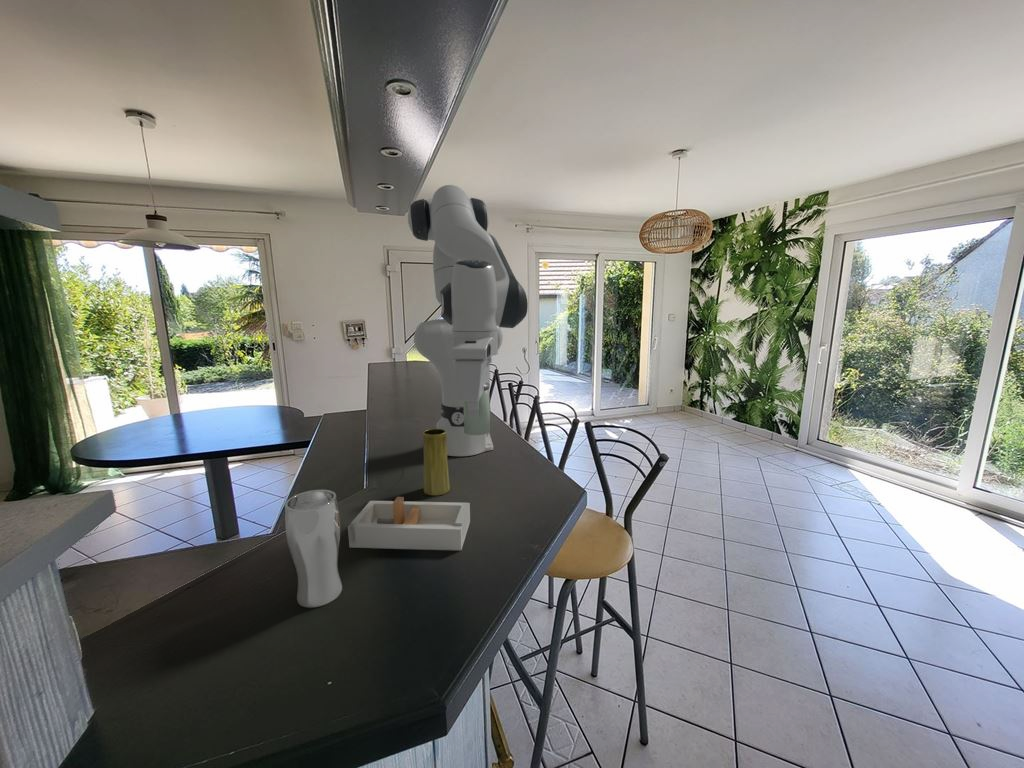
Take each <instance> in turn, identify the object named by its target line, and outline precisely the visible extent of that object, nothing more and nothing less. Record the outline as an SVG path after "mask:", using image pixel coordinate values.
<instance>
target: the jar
mask: <svg viewBox="0 0 1024 768" xmlns="http://www.w3.org/2000/svg"><path fill="white" fill-rule="evenodd" d="M490 387H491V384H490V382H489V383H487V382H486V383H485V385H484V392H483V394H482V396H481V397H480V399H479V417H478V419H470V418H469V409H468V405H467V402H463V404H464V433H466V434H468V435H484V434H487V433H489V434H490V430H491V425H490V424H491V423H490V422H491V420H490V415H491V414H490V413H491V412H490Z"/></svg>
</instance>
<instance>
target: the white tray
mask: <svg viewBox="0 0 1024 768" xmlns="http://www.w3.org/2000/svg"><path fill="white" fill-rule="evenodd" d="M393 502H394V500H393V501H392V500H369V502H367V504H366V505H365V506H364V508H363V509H362V510H361V511H360V512H359V513H358V514H357V516H356V517H355V518H354V519H353V520H352V521H351V522H350V523H349V524H348V525H347V531H348V532H347V534H348V544H349V545H348V546H349V547H348V548H349V549H350V548H356V549H357V548H360V549H389V550H390V549H391V550H392V549H393V550H423V551H424V550H426V551H430V550H431V551H432V550H433V551H434V550H435V551H462V550H463V545H464V543H465V539H466V536H467V534H468V533H467V532H468V530H469V526H470V523H471V508H470V506H471V505H470V504H471V503H470V502H452V501H451V502H450V501H448V502H447V501H446V502H445V501H404V516H405V520H406V518H407V517H408V515H409V513H410V512H411V510H412V508H419V515H420V518H419V520H418V522H417V524H416V525H405V524H377V519H378V518H384V519H394V513H393Z"/></svg>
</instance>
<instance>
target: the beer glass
mask: <svg viewBox="0 0 1024 768" xmlns="http://www.w3.org/2000/svg"><path fill="white" fill-rule="evenodd" d="M284 508H285V509H284V510H285V511H284V512H285V534H286V540H287V541H286V542H287V545H288V548H289V549H288V550H289V551H290V555H291V559H292V561H293V562H292V563H293V564H294V567H295V570H296V574H297V592H296V593H297V594H296V600H297V601H296V602H297V604H299V606H301V607H303V608H307V609H312V608H313V609H314V608H315V609H316V608H318V607H319V608H320V607H322V606H326V605H328V604H330V603H331V602H333V601H334V600H336V599H337V598H338V597H339V596H340V595H341V593H342V591H343V584H342V580H341V577H340V573H339V568H338V561H339V559H338V558H339V549H340V541H341V520H340V518H341V517H340V512H339V505H338V500H337V494H336V492H334V491H332V490H329V489H314V490H307V491H304V492H301V493H297V494H295V495H293V496H291V497H289V499H288V500H286V502H284Z"/></svg>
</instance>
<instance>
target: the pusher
mask: <svg viewBox="0 0 1024 768" xmlns="http://www.w3.org/2000/svg"><path fill="white" fill-rule="evenodd" d="M404 500H405V499H404V496H396V498H395V499H394V500H393V501H394V502H393V513H394V519H384V518H378V519H377V524H405V525H416V524H417V522H418V520H419V518H420V515H419V508H412V510H411V512H410V513H409V515H408V517H407V518H406V520H405V516H404Z"/></svg>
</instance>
